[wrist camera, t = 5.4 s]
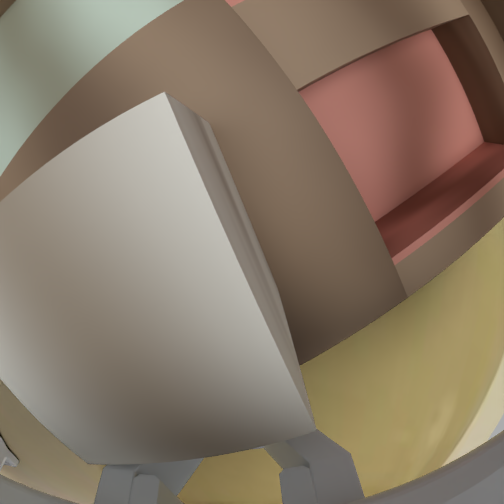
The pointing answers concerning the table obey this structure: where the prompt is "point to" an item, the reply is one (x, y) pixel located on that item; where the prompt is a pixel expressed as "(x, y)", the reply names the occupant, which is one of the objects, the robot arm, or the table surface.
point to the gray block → (145, 299)
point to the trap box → (291, 126)
